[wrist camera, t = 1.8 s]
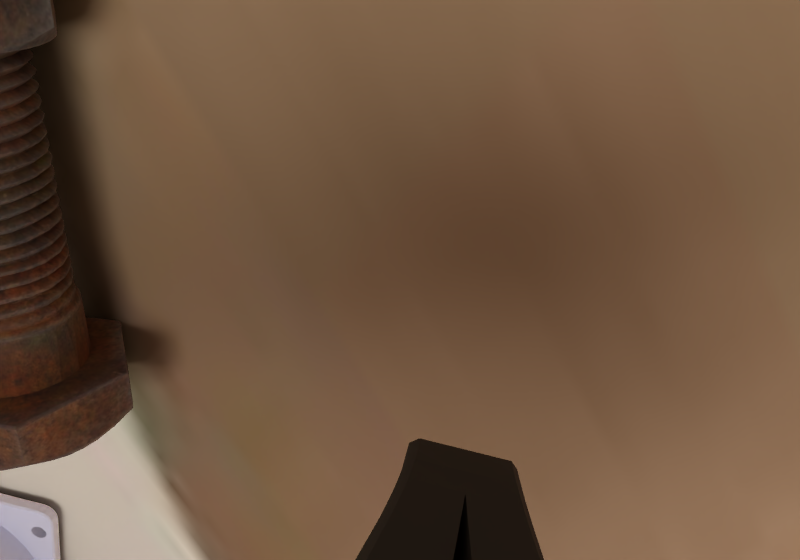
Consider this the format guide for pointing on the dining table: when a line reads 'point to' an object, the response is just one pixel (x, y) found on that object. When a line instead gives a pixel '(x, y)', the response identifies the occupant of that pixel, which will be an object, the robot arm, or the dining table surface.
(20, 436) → the bolt
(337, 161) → the dining table surface
